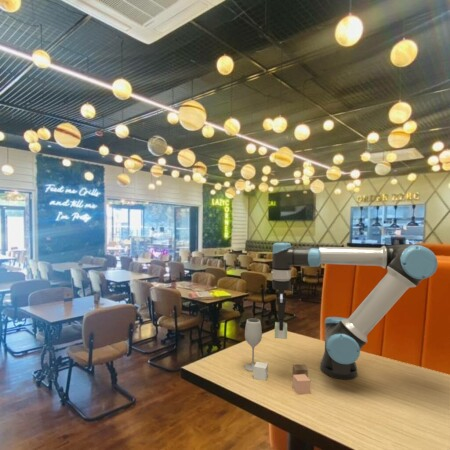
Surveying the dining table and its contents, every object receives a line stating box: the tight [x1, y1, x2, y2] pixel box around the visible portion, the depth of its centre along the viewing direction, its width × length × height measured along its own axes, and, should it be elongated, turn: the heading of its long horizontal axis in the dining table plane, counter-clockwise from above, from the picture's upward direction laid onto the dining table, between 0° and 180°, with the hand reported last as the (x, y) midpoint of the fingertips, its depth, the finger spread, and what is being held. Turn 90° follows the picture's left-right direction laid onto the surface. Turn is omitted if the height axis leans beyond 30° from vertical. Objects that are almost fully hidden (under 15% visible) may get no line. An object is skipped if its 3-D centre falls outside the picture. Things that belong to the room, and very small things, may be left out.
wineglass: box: [244, 317, 263, 373], centre depth 135 cm, size 8×8×21 cm
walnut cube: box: [292, 364, 309, 378], centre depth 125 cm, size 5×5×5 cm
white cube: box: [253, 361, 269, 381], centre depth 127 cm, size 5×5×5 cm
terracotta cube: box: [292, 374, 311, 395], centre depth 116 cm, size 5×5×5 cm
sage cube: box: [274, 321, 288, 340], centre depth 127 cm, size 5×5×5 cm
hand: (281, 335), depth 127 cm, fingers closed on sage cube, 5 cm apart
